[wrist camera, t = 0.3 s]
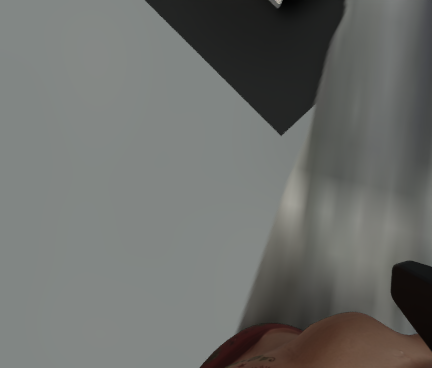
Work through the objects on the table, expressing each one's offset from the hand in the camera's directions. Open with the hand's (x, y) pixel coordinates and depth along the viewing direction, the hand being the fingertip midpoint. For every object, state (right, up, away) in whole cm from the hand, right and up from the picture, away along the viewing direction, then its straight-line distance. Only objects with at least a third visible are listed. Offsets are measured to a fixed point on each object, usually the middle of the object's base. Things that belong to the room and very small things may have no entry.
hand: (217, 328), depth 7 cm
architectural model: (+3, +22, +22) cm, 31 cm away
